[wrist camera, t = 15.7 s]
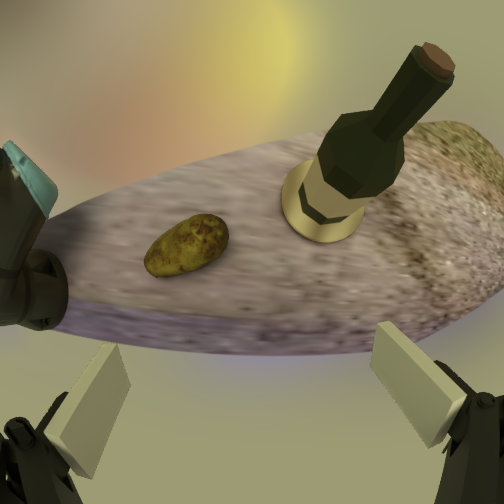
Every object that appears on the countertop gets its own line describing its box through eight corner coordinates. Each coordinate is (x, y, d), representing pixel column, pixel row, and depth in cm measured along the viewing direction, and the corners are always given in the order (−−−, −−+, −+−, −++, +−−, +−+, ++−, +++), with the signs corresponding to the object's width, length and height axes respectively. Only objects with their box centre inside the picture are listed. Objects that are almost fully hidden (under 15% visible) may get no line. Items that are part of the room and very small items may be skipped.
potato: (150, 226, 42) (130, 214, 34) (230, 220, 42) (225, 205, 34) (151, 278, 41) (130, 277, 33) (233, 274, 41) (229, 272, 34)
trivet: (274, 237, 42) (276, 234, 39) (284, 160, 44) (286, 152, 41) (355, 250, 42) (362, 247, 39) (359, 174, 43) (365, 168, 41)
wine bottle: (286, 188, 40) (347, 16, 10) (330, 164, 40) (424, 13, 11) (317, 236, 39) (455, 129, 9) (361, 209, 40) (503, 100, 10)
